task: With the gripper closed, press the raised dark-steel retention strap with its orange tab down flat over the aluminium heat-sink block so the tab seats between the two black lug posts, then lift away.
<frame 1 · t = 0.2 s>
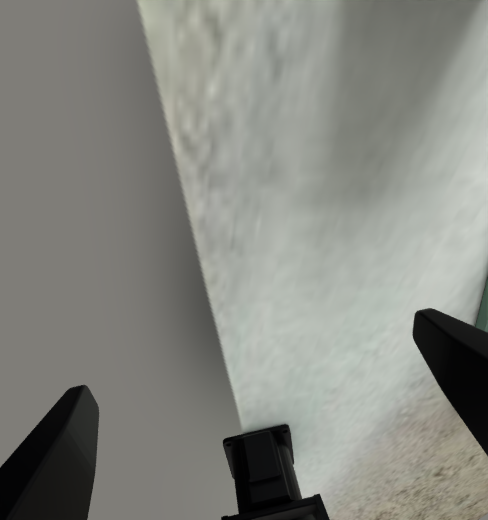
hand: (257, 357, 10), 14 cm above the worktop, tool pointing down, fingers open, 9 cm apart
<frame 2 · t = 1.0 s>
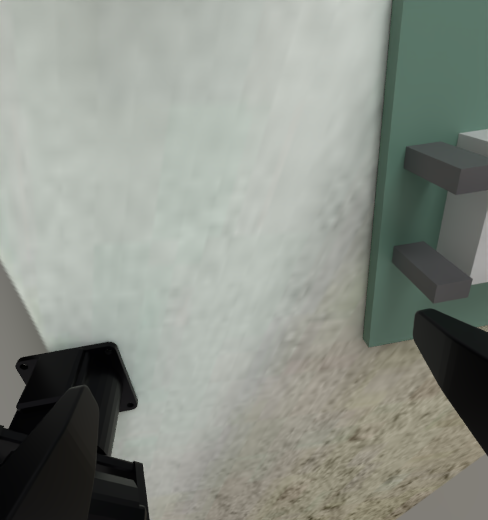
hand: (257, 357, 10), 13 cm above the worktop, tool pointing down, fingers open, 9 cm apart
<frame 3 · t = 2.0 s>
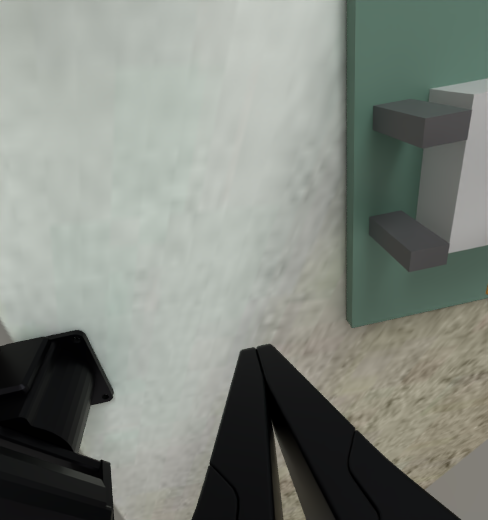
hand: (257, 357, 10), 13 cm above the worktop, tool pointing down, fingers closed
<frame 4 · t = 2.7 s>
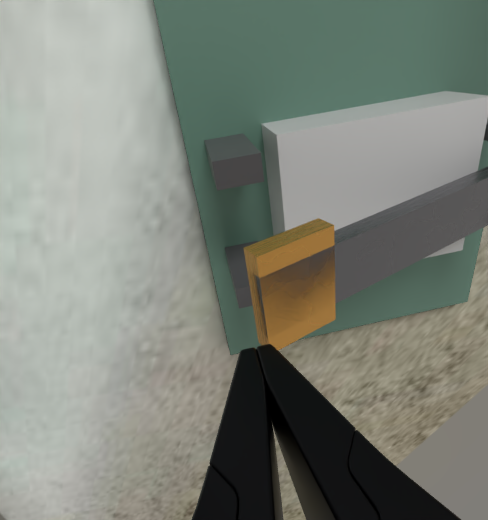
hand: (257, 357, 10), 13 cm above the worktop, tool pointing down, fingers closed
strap: (421, 227, 15), point 8 cm above the worktop, hinge at 20.0°
board: (347, 176, 21), on the worktop
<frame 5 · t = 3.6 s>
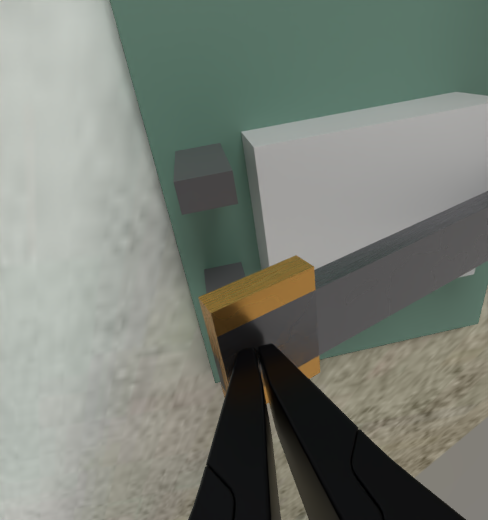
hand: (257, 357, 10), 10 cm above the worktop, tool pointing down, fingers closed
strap: (426, 257, 12), point 8 cm above the worktop, hinge at 19.8°, touching gripper
board: (342, 189, 19), on the worktop
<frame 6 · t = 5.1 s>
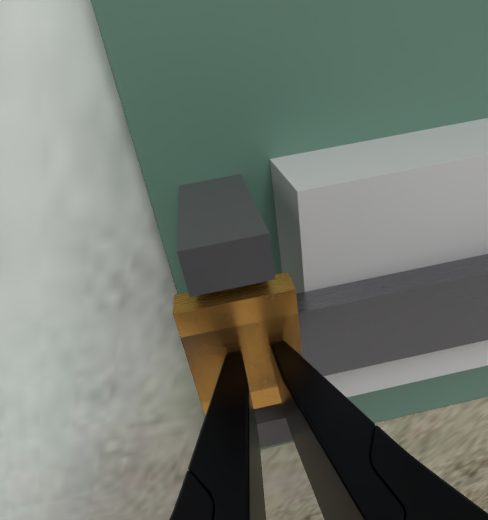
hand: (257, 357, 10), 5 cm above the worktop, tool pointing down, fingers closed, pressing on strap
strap: (468, 302, 10), point 5 cm above the worktop, hinge at -0.2°, touching gripper
board: (395, 228, 15), on the worktop
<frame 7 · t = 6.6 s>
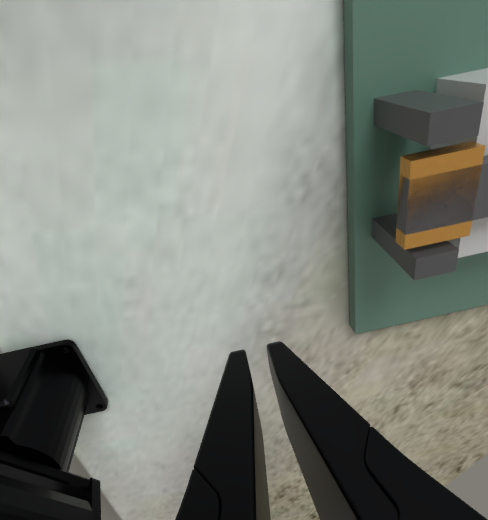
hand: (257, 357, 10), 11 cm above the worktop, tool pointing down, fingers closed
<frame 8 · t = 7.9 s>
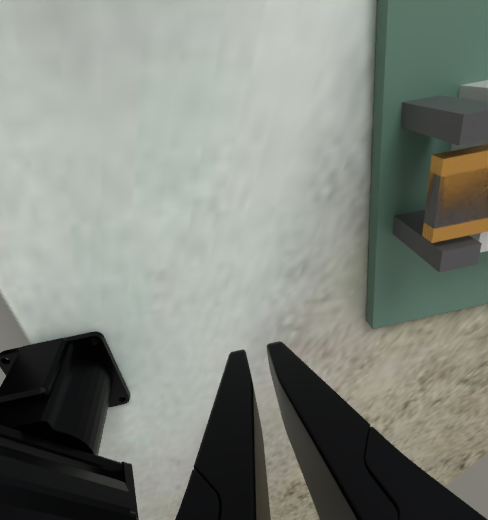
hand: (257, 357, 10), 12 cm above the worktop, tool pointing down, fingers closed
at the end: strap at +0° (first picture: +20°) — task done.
